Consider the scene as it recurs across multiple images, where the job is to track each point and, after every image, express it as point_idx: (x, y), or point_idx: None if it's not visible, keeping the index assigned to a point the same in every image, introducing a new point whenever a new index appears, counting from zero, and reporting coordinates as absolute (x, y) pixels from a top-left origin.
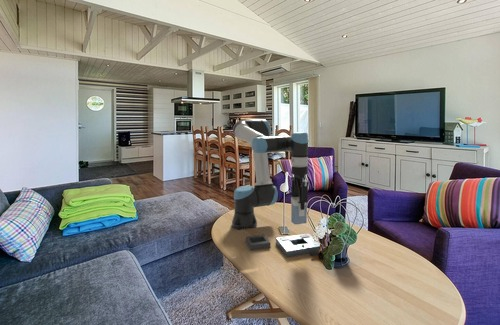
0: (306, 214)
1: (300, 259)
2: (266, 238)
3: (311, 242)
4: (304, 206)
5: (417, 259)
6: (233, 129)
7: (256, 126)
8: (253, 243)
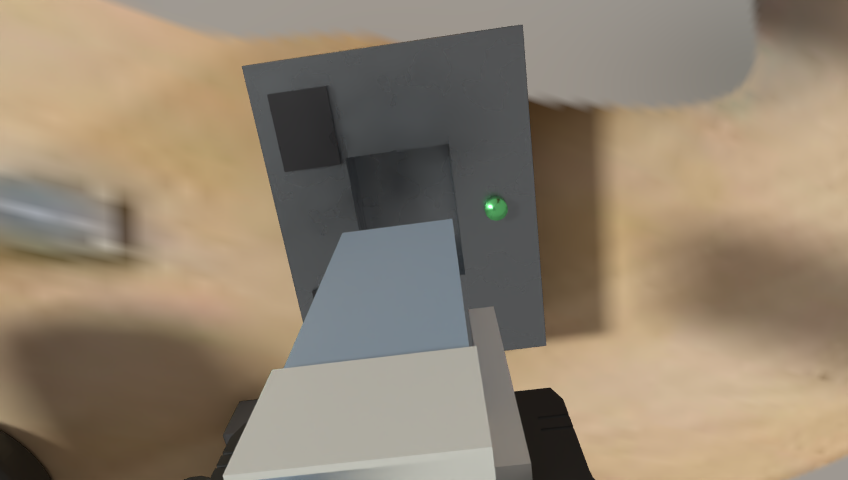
0: (457, 266)
1: (555, 227)
2: None
3: (441, 107)
4: (573, 429)
5: None
6: None
7: None
8: None
